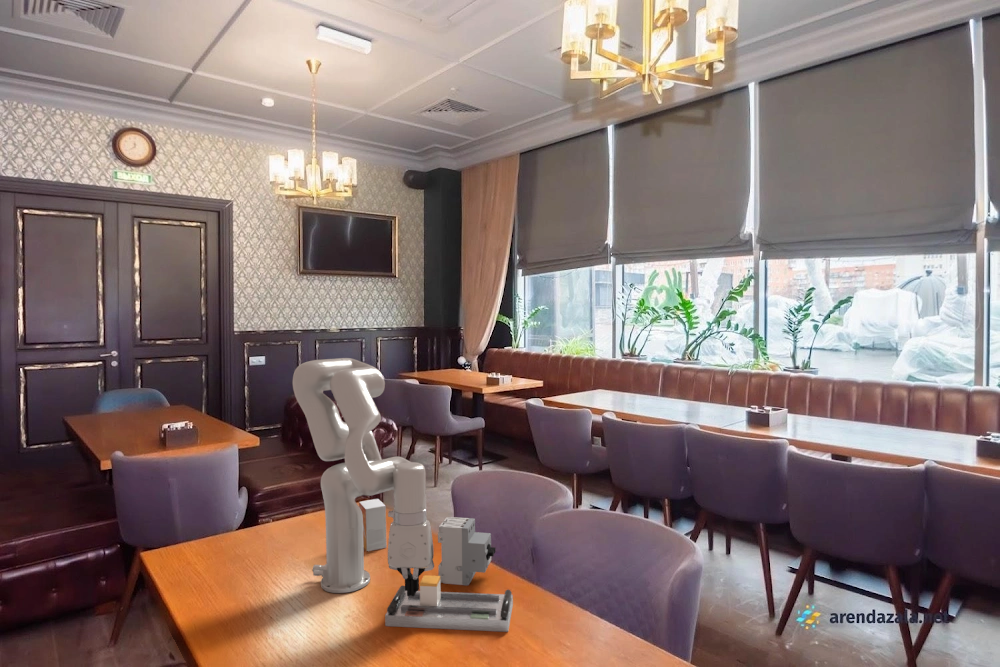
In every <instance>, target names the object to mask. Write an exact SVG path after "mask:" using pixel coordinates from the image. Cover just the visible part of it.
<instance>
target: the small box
mask: <svg viewBox="0 0 1000 667" xmlns="http://www.w3.org/2000/svg"><path fill="white" fill-rule="evenodd" d="M358 506H359V507H360V509H361V511H362V514H363V546H364V551H366V552H367V551H368V552H372V551H376V550H381V549H386V548H388V544H387V515H386V514H387V512H386V510H387V507H386V505H385V503H384V502H382V501H381V500H380V499H379V498H373V499H367V500H362V501H359V502H358Z"/></svg>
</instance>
